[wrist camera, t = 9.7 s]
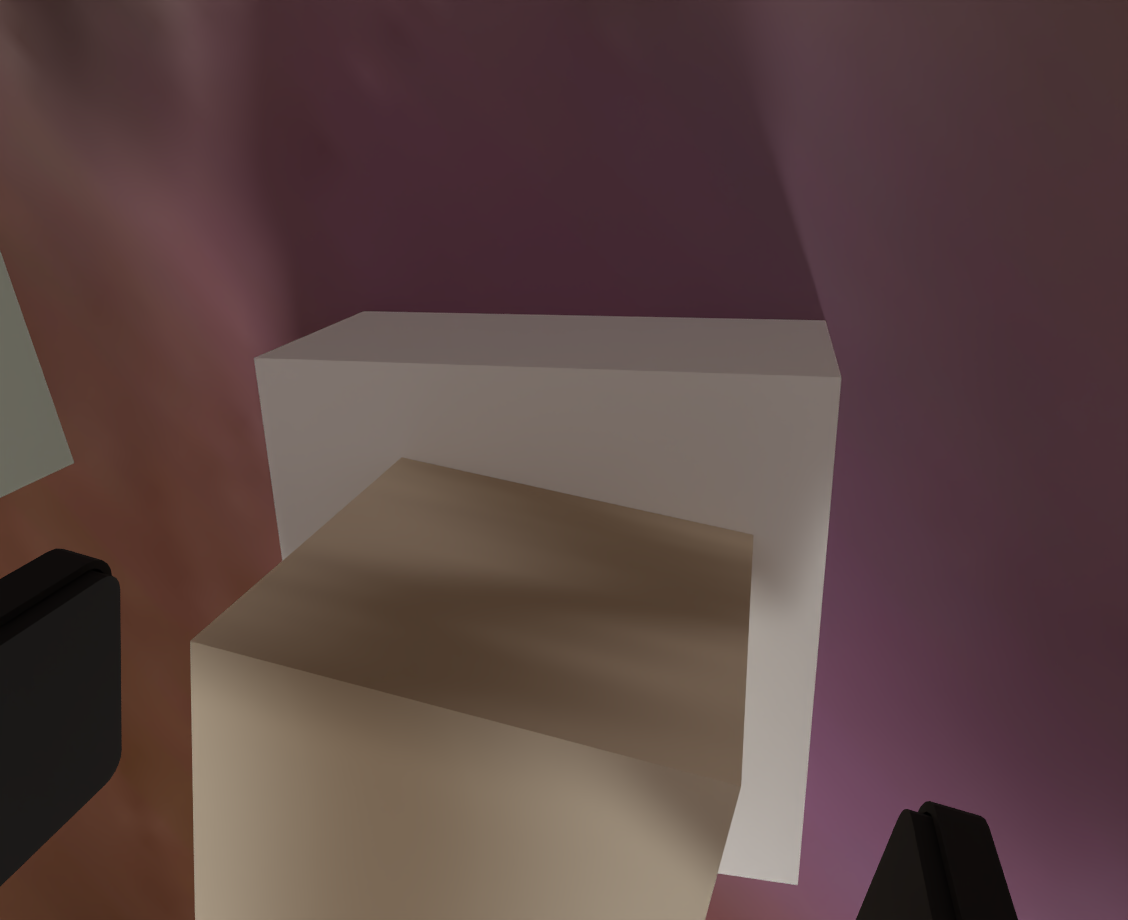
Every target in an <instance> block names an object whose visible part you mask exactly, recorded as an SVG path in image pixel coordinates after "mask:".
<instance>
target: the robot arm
mask: <svg viewBox="0 0 1128 920" xmlns="http://www.w3.org/2000/svg"><path fill="white" fill-rule="evenodd" d="M121 750H122V748H121V634H120V585H119V582H118V580H117V578H115V577H113V576H112V575H111V569H110V567H109V566H108V564H107V563H106V562H104V561H102V560H99V559H96V558H93V557H89V556H86V555H82V554H79V553H75V552H72V551H69V550H65V549H54V550H51V551H49V552H47V553H45V554H43V555H41V556H40V557H38V558H36V559H34V560H33V561H31V562H29V563H27V564H26V565H24V566H22V567H20V568H19V569H17V570H15V571H13V572H12V573H10V574H8V575H6V576H5V577H3V578H1V579H0V886H1V885H2V884H3V883H4V882H5V881H6V880H7V879H8V878H9V877H10V876H11V875H13V874H14V873H15V872H16V871H17V870H18V869H19V868H20V867H21V866H22V865H23V864H24V863H25V862H26V861H27V860H28V859H29V858H30V857H31V856H32V855H33V854H34V853H35V852H36V851H37V850H38V849H39V848H40V847H41V846H42V845H43V844H44V843H46V842H47V841H48V840H49V839H50V838H51V837H52V836H53V835H54V834H55V833H56V832H57V831H58V830H59V829H60V828H61V827H62V826H63V825H64V824H65V823H66V822H67V821H68V820H69V819H70V818H71V817H72V816H73V815H74V814H75V813H76V812H77V811H78V810H80V809H81V808H82V807H83V806H84V805H85V804H86V803H87V802H88V801H89V800H90V799H91V798H92V797H93V796H94V795H95V794H96V793H97V792H98V791H99V790H100V789H101V788H102V787H103V786H104V785H105V784H106V783H107V782H108V781H109V780H110V778H111V777H112V775H113V774H114V772H115V770H116V768H117V766H118V764H119V761H120V757H121ZM856 920H1018V918H1017V915H1016V912H1015V909H1014V905H1013V902H1012V899H1011V896H1010V893H1009V889H1008V886H1007V883H1006V880H1005V877H1004V873H1003V870H1002V867H1001V864H1000V861H999V857H998V854H997V851H996V848H995V845H994V841H993V838H992V835H991V832H990V829H989V826H988V824H987V822H986V820H985V819H984V818H983V817H981V816H979V815H975V814H972V813H969V812H965V811H962V810H958V809H955V808H951V807H948V806H944V805H941V804H938V803H934V802H931V801H928V802H925V803H924V804H923V805H922V806H921V807H920V809H919V811H918V812H915V811H912V810H908V809H905V810H903V811H902V812H901V814H900V816H899V818H898V820H897V822H896V825H895V827H894V829H893V832H892V834H891V837H890V839H889V841H888V844H887V846H886V849H885V851H884V853H883V856H882V858H881V861H880V863H879V865H878V868H877V870H876V873H875V875H874V877H873V880H872V882H871V885H870V887H869V889H868V892H867V894H866V897H865V899H864V901H863V904H862V906H861V909H860V911H859V913H858V916H857V918H856Z"/></svg>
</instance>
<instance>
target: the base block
mask: <svg viewBox="0 0 1128 920" xmlns="http://www.w3.org/2000/svg"><path fill="white" fill-rule="evenodd" d="M254 362H255V369H256V376H257V383H258V390H259V397H260V404H261V412H262V419H263V426H264V433H265V440H266V447H267V454H268V461H269V468H270V475H271V483H272V490H273V497H274V504H275V511H276V518H277V525H278V532H279V539H280V547H281V554H282V561H283V560H284V559H285V558H286V557H288V556H289V555H290V554H291V553H292V552H293V551H295V550H296V549H297V548H298V547H299V546H300V545H301V544H303V543H304V542H305V541H306V540H307V539H308V538H309V537H311V536H312V535H313V534H314V533H315V532H316V531H317V530H319V529H320V528H321V527H322V526H323V525H324V524H326V523H327V522H328V521H329V520H330V519H331V518H332V517H334V516H335V515H336V514H337V513H338V512H339V511H340V510H342V509H343V508H344V507H345V506H346V505H347V504H349V503H350V502H351V501H352V500H353V499H354V498H355V497H357V496H358V495H359V494H360V493H361V492H362V491H363V490H365V489H366V488H367V487H368V486H369V485H370V484H372V483H373V482H374V481H375V480H376V479H377V478H378V477H380V476H381V475H382V474H383V473H384V472H385V471H386V470H388V469H389V468H390V467H391V466H392V465H393V464H394V463H396V462H397V461H398V460H399V459H400V458H401V457H402V458H407V459H411V460H416V461H421V462H425V463H430V464H434V465H439V466H443V467H448V468H452V469H457V470H461V471H466V472H470V473H475V474H479V475H484V476H489V477H493V478H498V479H502V480H507V481H511V482H516V483H520V484H525V485H529V486H534V487H538V488H543V489H548V490H552V491H557V492H561V493H566V494H570V495H575V496H579V497H584V498H588V499H593V500H597V501H602V502H607V503H611V504H616V505H620V506H625V507H629V508H634V509H638V510H643V511H647V512H652V513H656V514H661V515H666V516H670V517H675V518H679V519H684V520H688V521H693V522H697V523H702V524H706V525H711V526H715V527H720V528H724V529H729V530H734V531H738V532H743V533H747V534H752V535H753V555H752V575H751V596H750V616H749V637H748V657H747V678H746V698H745V719H744V739H743V759H742V780H741V789H740V793H739V796H738V800H737V804H736V807H735V811H734V815H733V818H732V822H731V826H730V829H729V833H728V837H727V840H726V844H725V848H724V851H723V855H722V859H721V863H720V866H719V870H718V873H720V874H726V875H733V876H740V877H747V878H753V879H760V880H767V881H773V882H780V883H787V884H793V885H798V874H799V863H800V851H801V840H802V828H803V816H804V805H805V793H806V782H807V770H808V759H809V747H810V735H811V724H812V712H813V701H814V689H815V677H816V666H817V654H818V643H819V631H820V620H821V608H822V596H823V585H824V573H825V562H826V550H827V539H828V527H829V515H830V504H831V492H832V481H833V469H834V458H835V446H836V434H837V423H838V411H839V400H840V388H841V374H840V370H839V367H838V363H837V360H836V356H835V353H834V349H833V346H832V342H831V338H830V335H829V331H828V328H827V324H826V321H825V320H781V319H730V318H680V317H630V316H579V315H529V314H478V313H428V312H378V311H363V312H361V313H358V314H356V315H354V316H351V317H349V318H347V319H344V320H342V321H340V322H337V323H335V324H333V325H330V326H328V327H326V328H323V329H321V330H318V331H316V332H314V333H311V334H309V335H307V336H304V337H302V338H300V339H297V340H295V341H293V342H290V343H288V344H286V345H283V346H281V347H279V348H276V349H274V350H272V351H269V352H267V353H265V354H262V355H260V356H258V357H255V358H254Z"/></svg>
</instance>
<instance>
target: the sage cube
mask: <svg viewBox="0 0 1128 920" xmlns="http://www.w3.org/2000/svg"><path fill="white" fill-rule="evenodd" d="M73 463H74V461H73V458H72V455H71V452H70V450H69V447H68V444H67V441H66V438H65V435H64V432H63V429H62V427H61V424H60V421H59V418H58V415H57V412H56V409H55V407H54V404H53V401H52V398H51V395H50V392H49V389H48V386H47V384H46V381H45V378H44V375H43V372H42V369H41V366H40V364H39V361H38V358H37V355H36V352H35V349H34V346H33V344H32V341H31V338H30V335H29V332H28V329H27V326H26V323H25V321H24V318H23V315H22V312H21V309H20V306H19V303H18V301H17V298H16V295H15V292H14V289H13V286H12V283H11V280H10V278H9V275H8V272H7V269H6V266H5V263H4V260H3V258H2V255H1V252H0V497H2V496H5V495H7V494H9V493H11V492H13V491H15V490H17V489H19V488H22V487H24V486H26V485H28V484H30V483H32V482H34V481H37V480H39V479H41V478H43V477H45V476H47V475H49V474H51V473H54V472H56V471H58V470H60V469H62V468H64V467H66V466H69V465H71V464H73Z"/></svg>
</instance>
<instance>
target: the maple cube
mask: <svg viewBox="0 0 1128 920" xmlns="http://www.w3.org/2000/svg"><path fill="white" fill-rule="evenodd" d="M752 555H753V535H752V534H747V533H743V532H738V531H734V530H729V529H724V528H720V527H715V526H711V525H706V524H702V523H697V522H693V521H688V520H684V519H679V518H675V517H670V516H666V515H661V514H656V513H652V512H647V511H643V510H638V509H634V508H629V507H625V506H620V505H616V504H611V503H607V502H602V501H597V500H593V499H588V498H584V497H579V496H575V495H570V494H566V493H561V492H557V491H552V490H548V489H543V488H538V487H534V486H529V485H525V484H520V483H516V482H511V481H507V480H502V479H498V478H493V477H489V476H484V475H479V474H475V473H470V472H466V471H461V470H457V469H452V468H448V467H443V466H439V465H434V464H430V463H425V462H421V461H416V460H411V459H407V458H402V457H401V458H400V459H399V460H398V461H397V462H396V463H394V464H393V465H392V466H391V467H390V468H389V469H388V470H386V471H385V472H384V473H383V474H382V475H381V476H380V477H378V478H377V479H376V480H375V481H374V482H373V483H372V484H370V485H369V486H368V487H367V488H366V489H365V490H363V491H362V492H361V493H360V494H359V495H358V496H357V497H355V498H354V499H353V500H352V501H351V502H350V503H349V504H347V505H346V506H345V507H344V508H343V509H342V510H340V511H339V512H338V513H337V514H336V515H335V516H334V517H332V518H331V519H330V520H329V521H328V522H327V523H326V524H324V525H323V526H322V527H321V528H320V529H319V530H317V531H316V532H315V533H314V534H313V535H312V536H311V537H309V538H308V539H307V540H306V541H305V542H304V543H303V544H301V545H300V546H299V547H298V548H297V549H296V550H295V551H293V552H292V553H291V554H290V555H289V556H288V557H286V558H285V559H284V560H283V561H282V562H281V563H280V564H278V565H277V566H276V567H275V568H274V569H273V570H272V571H270V572H269V573H268V574H267V575H266V576H265V577H263V578H262V579H261V580H260V581H259V582H258V583H257V584H255V585H254V586H253V587H252V588H251V589H250V590H249V591H247V592H246V593H245V594H244V595H243V596H242V597H240V598H239V599H238V600H237V601H236V602H235V603H234V604H232V605H231V606H230V607H229V608H228V609H227V610H226V611H224V612H223V613H222V614H221V615H220V616H219V617H218V618H216V619H215V620H214V621H213V622H212V623H211V624H209V625H208V626H207V627H206V628H205V629H204V630H203V631H201V632H200V633H199V634H198V635H197V636H196V637H195V638H193V639H192V640H191V641H190V653H191V710H192V767H193V823H194V880H195V920H705V918H706V914H707V910H708V907H709V903H710V899H711V896H712V892H713V888H714V885H715V881H716V877H717V874H718V870H719V866H720V863H721V859H722V855H723V851H724V848H725V844H726V840H727V837H728V833H729V829H730V826H731V822H732V818H733V815H734V811H735V807H736V804H737V800H738V796H739V793H740V789H741V780H742V759H743V739H744V719H745V698H746V678H747V657H748V637H749V616H750V596H751V575H752Z"/></svg>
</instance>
